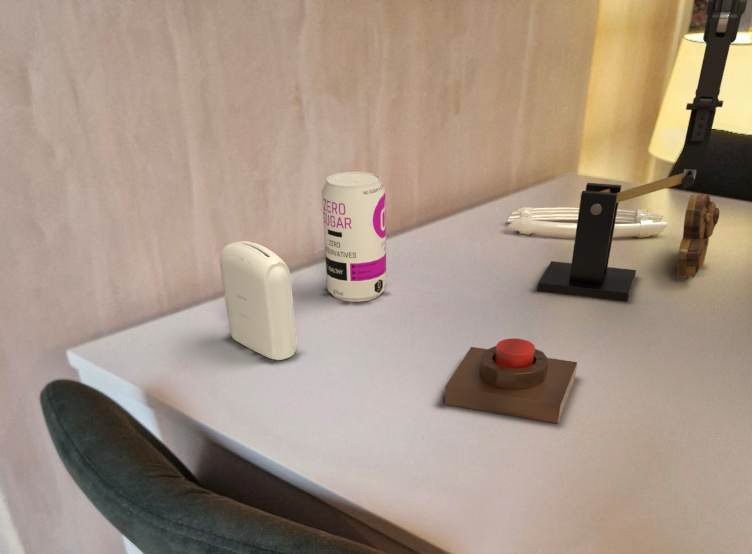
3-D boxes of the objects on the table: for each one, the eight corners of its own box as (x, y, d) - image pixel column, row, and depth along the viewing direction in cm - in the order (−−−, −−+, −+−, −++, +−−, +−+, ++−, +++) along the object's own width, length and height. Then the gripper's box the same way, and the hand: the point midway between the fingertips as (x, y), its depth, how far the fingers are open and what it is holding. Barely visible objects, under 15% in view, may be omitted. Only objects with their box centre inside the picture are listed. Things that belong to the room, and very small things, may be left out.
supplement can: (391, 283, 109) (390, 171, 100) (378, 305, 103) (377, 188, 93) (336, 279, 111) (331, 169, 101) (320, 301, 104) (313, 186, 95)
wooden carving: (705, 290, 104) (724, 215, 98) (669, 287, 105) (686, 212, 99) (707, 251, 116) (724, 182, 110) (675, 248, 118) (690, 180, 111)
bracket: (634, 278, 108) (653, 183, 100) (627, 301, 102) (646, 202, 94) (550, 269, 112) (561, 176, 104) (537, 291, 105) (548, 194, 98)
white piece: (666, 242, 120) (506, 237, 124) (658, 223, 128) (507, 219, 131) (670, 225, 118) (508, 220, 122) (661, 206, 126) (509, 202, 130)
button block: (574, 379, 85) (579, 346, 82) (557, 423, 77) (562, 388, 75) (469, 364, 88) (471, 331, 86) (444, 404, 81) (445, 370, 79)
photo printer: (225, 338, 95) (211, 239, 88) (254, 328, 98) (242, 230, 90) (273, 365, 89) (262, 260, 82) (302, 354, 91) (294, 251, 84)
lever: (697, 179, 96) (694, 159, 95) (695, 189, 93) (692, 169, 92) (593, 209, 103) (589, 192, 102) (587, 220, 100) (583, 202, 98)
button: (536, 356, 81) (538, 341, 80) (528, 372, 79) (530, 357, 77) (500, 351, 83) (501, 336, 82) (490, 367, 80) (492, 351, 79)
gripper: (708, -73, 85) (663, 153, 100) (703, -72, 76) (654, 179, 90) (781, -75, 83) (724, 157, 98) (785, -74, 74) (722, 183, 88)
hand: (690, 167), depth 94 cm, fingers closed
